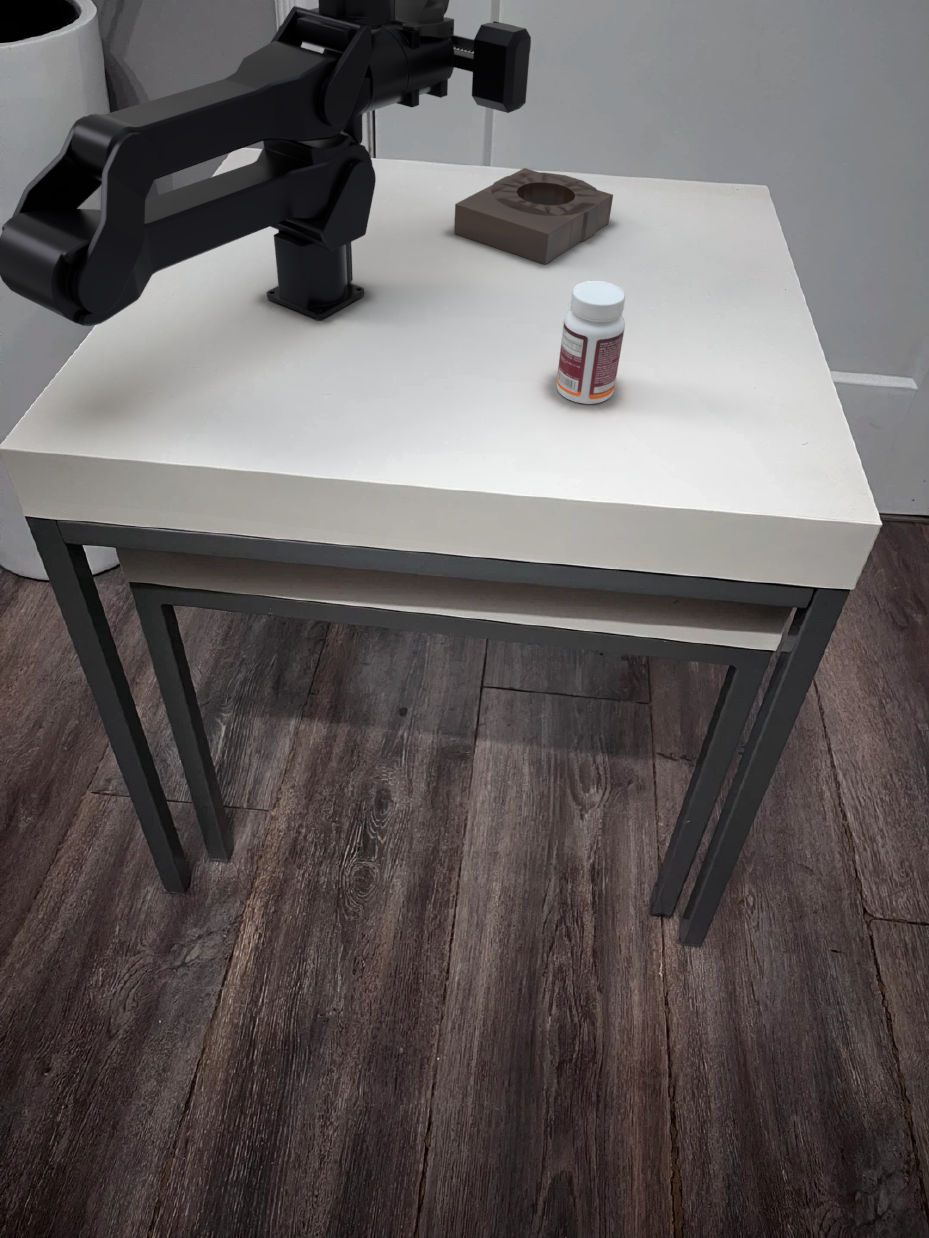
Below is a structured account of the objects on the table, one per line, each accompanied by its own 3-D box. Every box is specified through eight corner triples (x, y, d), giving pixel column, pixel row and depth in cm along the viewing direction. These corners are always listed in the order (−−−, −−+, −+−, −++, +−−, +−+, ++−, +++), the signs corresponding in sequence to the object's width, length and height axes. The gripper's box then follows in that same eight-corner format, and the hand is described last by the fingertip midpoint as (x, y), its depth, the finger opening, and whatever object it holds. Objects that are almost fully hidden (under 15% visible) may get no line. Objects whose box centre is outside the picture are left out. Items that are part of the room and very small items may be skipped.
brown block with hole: (546, 265, 95) (550, 235, 93) (452, 233, 99) (453, 203, 97) (616, 220, 103) (620, 191, 101) (526, 192, 108) (528, 164, 105)
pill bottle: (613, 377, 80) (629, 280, 74) (613, 408, 77) (631, 309, 71) (556, 371, 81) (568, 275, 75) (554, 402, 77) (567, 304, 71)
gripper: (477, -28, 72) (584, -52, 82) (294, -65, 80) (411, -82, 89) (470, 131, 80) (568, 93, 89) (303, 84, 88) (410, 53, 97)
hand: (488, 36), depth 91 cm, fingers open, 9 cm apart
